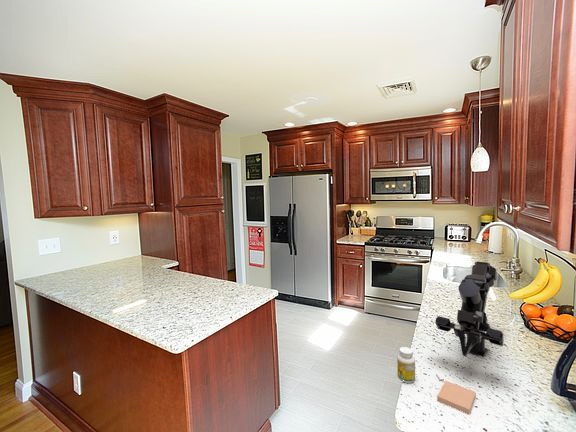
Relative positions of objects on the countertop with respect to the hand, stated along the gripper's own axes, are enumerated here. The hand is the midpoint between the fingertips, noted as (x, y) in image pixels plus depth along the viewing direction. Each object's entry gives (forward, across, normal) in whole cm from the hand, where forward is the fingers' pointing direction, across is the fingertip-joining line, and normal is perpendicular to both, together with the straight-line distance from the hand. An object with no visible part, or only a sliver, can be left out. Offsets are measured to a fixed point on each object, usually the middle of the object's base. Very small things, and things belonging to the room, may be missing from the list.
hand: (464, 355), depth 89 cm
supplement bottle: (+13, -14, -2) cm, 20 cm away
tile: (+10, 0, +1) cm, 10 cm away
